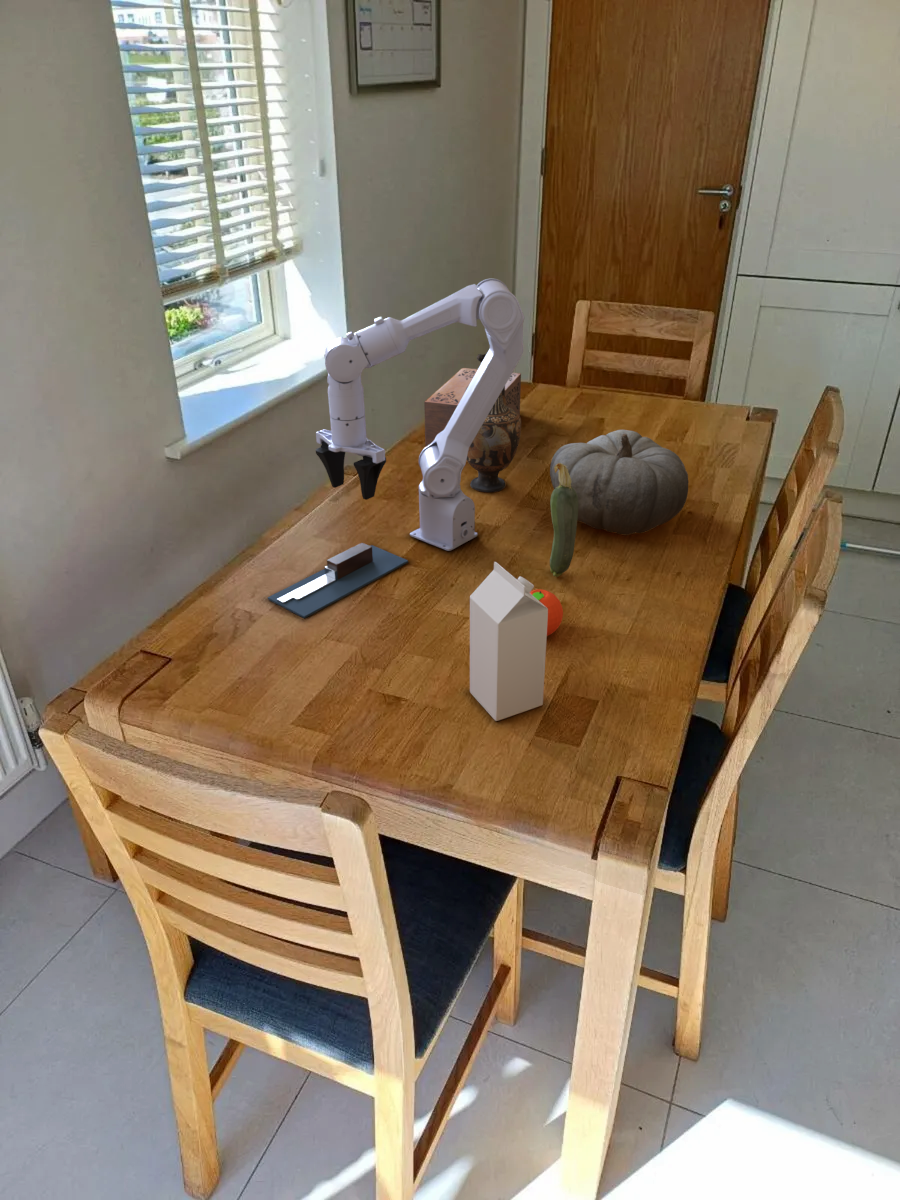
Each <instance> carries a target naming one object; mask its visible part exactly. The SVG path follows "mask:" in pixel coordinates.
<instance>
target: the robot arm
mask: <svg viewBox="0 0 900 1200" xmlns="http://www.w3.org/2000/svg"><path fill="white" fill-rule="evenodd" d="M373 319H374V320H373V321H374V323H373V324H371V325H369V326H366V327H365V328H362V329H360V330H357V331H356V332H353V330H351V331H348V332H347V333H346V337H343V336H340V337H336V338H334V339H332V340H331V341H330V342H329V343H328V345H327V346H326V347H325V352H324V366H325V369H326V372H327V378H326V379H327V380H326V381H327V384H328V387H327V399H328V410H329V411H328V412H329V420H330V430H329V429H326V428H325V429H324V428H323V429H321V430H318V431H316V432H315V438H316V439H315V440H316V443H317V444H318V445H319V444H320V447H317V448H316V449H315V454H316V455H317V457H318V459H320V461H321V463H322V465H323V466H324V468H325V471H326V473H327V476H328V480H330V484H331V487H332V488H334V489H335V488H339V487H341V486H343V485H344V483H345V458H346V453H351V454H354V455H357V456H360V457H362V459H359V460H357V461H354V462H353V466H354V469H355V470H356V473H357V476H358V479H359V483H360V491H361V496H362V499H363V500H364V501H365V500H366V501H367V500H370V499H372V498H375V494H376V489H377V486H378V485H377V484H378V481H379V477H380V474H381V472H382V471H383V469H384V467H385V464H386V463H387V457H386V449H385V448H383V447H380V446H379V445H377V444H376V443H374V442H373V441H372V440H371V439H369V438H368V437H367V423H366V408H365V392H364V391H365V390H364V385H363V384H362V373H363V371H364V369H371V368H372V367H374V366H376V365H377V366H378V365H380V364H381V363H383V362H385V361H388V360H390V359H393V358H394V357H396V356H399V355H400V354H403V353H405V352H406V350H407V347H408V345H409V343H410V342H411V341H412V340H415V339H418V338H420V337H422V336H425V335H428V334H430V333H432V332H435V331H438V330H440V329H442V328H444V327H447V326H449V325H453V324H454V323H455V324H456V323H458V324H459V323H460V324H463V325H467V326H471V327H475V328H476V327H478V322H477V320H480V322H481V324H482V326H483V327H484V331H485V334H486V338H487V340H488V344H489V349H488V350H487V352H486V353H487V354H486V353H485V354H486V356H485V358H484V359H483V361H482V363H481V362H480V364H479V366H478V368H477V369H478V370H477V372H476V374H475V375H474V377H473V379H472V381H471V383H470V384H469V386H468V388H467V390H466V392H465V393H464V395H463V397H462V399H461V400H460V402H459V404H458V406H457V408H456V409H455V411H454V413H453V415H452V417H451V418H450V420H449V422H448V424H447V426H446V427H445V429H444V430H443V431H442V432H440V433H439V434H437V436H436V438H435V439H434V441H433V442H432V443H431V444H430V445H428V446H425V447H424V448H423V449H422V450H421V452H420V454H419V456H418V465H419V466H418V467H419V469H420V471H421V475H422V480H421V482H420V483H419V485H418V506H419V507H418V508H419V510H418V511H419V528H417V529H415V530H413V531H410V533H409V536H410V537H412V538H414V539H417V540H420V541H422V542H424V543H427V544H429V545H432V546H434V547H437V548H439V549H441V550H444V551H446V552H451V551H452V550H454V549H456V548H459V547H460V546H461V545H463V544H465V543H467V542H468V541H471V540H473V539H474V538H477V537H478V532H476V531H475V530H476V529H475V528H476V525H475V524H476V521H475V520H476V507H475V502H474V501H473V499H472V498H471V497H469V496H468V495H466V493H464V491H463V490H462V489H461V481H462V472H463V469H464V468H465V466H466V463H467V454H468V450H469V447H470V445H471V443H472V442H473V440H474V438H475V436H476V435H477V433H478V431H479V429H480V428H481V426H482V424H483V423H484V421H485V419H486V417H487V416H488V414H489V412H490V410H491V409H492V407H493V405H494V404H495V402H496V400H497V398H498V397H499V395H500V393H501V391H502V390H503V388H504V386H505V385H506V383H507V381H508V379H509V378H510V376H511V374H512V373H514V371H515V369H516V368H517V365H518V364H519V362H520V360H521V359H522V356H523V354H524V321H525V315H524V312H523V309H522V307H521V303H520V302H519V300H518V298H517V297H516V295H515V294H514V293H512V292H511V291H510V289H509V288H508V285H506V284H505V282H504V281H502V280H501V279H498V278H491V277H489V278H486V279H483V280H481V281H479V282H478V283H477V284H476V283H473V284H469V285H466V286H465V287H463V288H461V289H459V290H457V291H456V292H453V293H452V294H450V295H447V296H446V297H444V298H441V299H440V300H438V301H436V302H434V303H432V304H431V305H429V306H427V307H424V308H423V309H420V310H419V311H417V312H415V313H413V314H411V315H409V316H407V317H406V318H404V319H401V320H400V319H396V318H394V317H391V316H389V317H387V318H384V319H383V316H378V317H376V318H373Z"/></svg>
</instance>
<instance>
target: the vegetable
mask: <svg viewBox="0 0 900 1200" xmlns="http://www.w3.org/2000/svg"><path fill="white" fill-rule="evenodd" d="M566 467H567V466H565V465H563V464H562V463H558V464H556V465H555V467H554V470H555V473H556V472H557V471H558V469H559V472H558V479H559V482H560V484H559V485H560V486H558V487H556V488H555V489H554V488H553V490H552V492H551V495H550V502H549V503H550V514H551V523H552V528H553V539H552V545H551V550H550V551H551V553H550V558H549V568H550V573H551V574H552V576H553V577H556V578H558V577H561V576H562V575H563V574H564V573H565V572H567V571H568V569H569V568H570V566H571V563H572V561H573V557H574V552H575V544H576V537H577V527H578V521H577V519H578V496H577V493H576V491H575V489H574V488H573V487H571V482H572V481H571V477H570V475H569V473H568V469H567V468H566Z"/></svg>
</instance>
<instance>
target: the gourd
mask: <svg viewBox="0 0 900 1200" xmlns="http://www.w3.org/2000/svg"><path fill="white" fill-rule="evenodd" d="M558 463H562V464H563V465H565V466H567V467H566V468H567V469H568V473H569V475H570V477H571V481H572V482H571V487H573V488H574V489H575V491H576V493H577V496H578V519H577V522H579V523H583V524H584V525H586V526H589V527H591V528H593V529H596V530H604V531H606V532H607V533H608V532H609V533H615V534H617V535H622V536H630V535H634V534H643V533H647V532H649V531H651V530H653V529H655V528H656V527H658V526H661V525H664V524H666V523H668V522H669V521H671V520H672V519H673V518H675V517H676V516H677V515H678V514H679V513H680V512H681V511H682V510H683V508H684V506H685V504H686V502H687V499H688V494H689V474H688V471H687V469H686V467H685V464H684V462H683V461H682V459H681V457H680V456H679V455H678V454H677V453H675V452H674V451H672V450H671V449H668V448H666V447H663V446H661V445H660V444H658V443H657V442H655V441H654V440H653V439H652V438H650V437H648V436H643V435H641V434H640V433H638V431H634V430H627V429H616V430H614V431H610V432H608V433H606V434H602V435H599V436H596V437H595V438H593V439H591V440H589V441H587V442H586V443H585V442H572V443H567V444H564V445H562V446H561V447H559V448H558V449H557V450H556V451H555V453H554V454H553V456H552V458H551V462H550V465H549V467H550V468H549V476H550V481H551V484H552V488H553V490H554V489H555V488H556V487H558V486H560V485H559V484H560V482H559V479H558V472H559V469H558V471H557V472H556V473H555V470H554V467H555V465H556V464H558Z"/></svg>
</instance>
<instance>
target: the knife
mask: <svg viewBox="0 0 900 1200" xmlns="http://www.w3.org/2000/svg"><path fill="white" fill-rule="evenodd" d="M371 562H373V554H372V547H371V545H369V544H366V543H364V542H361V543H358V544H356V545H354V546H352V547H350V548H347V549H346V550H344V551H342V552H340V553H338V554H336V555H334V556H332V557H330V558H328V559H327V560H326V565H325V566H324V567H323V569H325V575H323V576H321V577H319V578H317V579H315V580H313V581H311V582H309V583H307V584H306V585H304V586H302V587H300V588H298V589H296V590H294V591H292V592H290V593H288V594H286V595H284V596H282V597H280V598H278V599H277V601H279V602H281V603H283V604H285V603H287V602H288V601H290V600H292V599H295V600H297V601H299V600H301V599H303V598H305V597H306V596H308V595H310V594H312V593H314V592H316V591H318V590H320V589H322V588H324V587H326V586H328V585H329V584H331V583H333V582H335V581H337V580H338V579H340V578H342V577H344V576H346V575H348V574H350V573H352V572H353V571H355V570H357V569H359V568H361V567H363V566H365V565H367V564H369V563H371Z"/></svg>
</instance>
